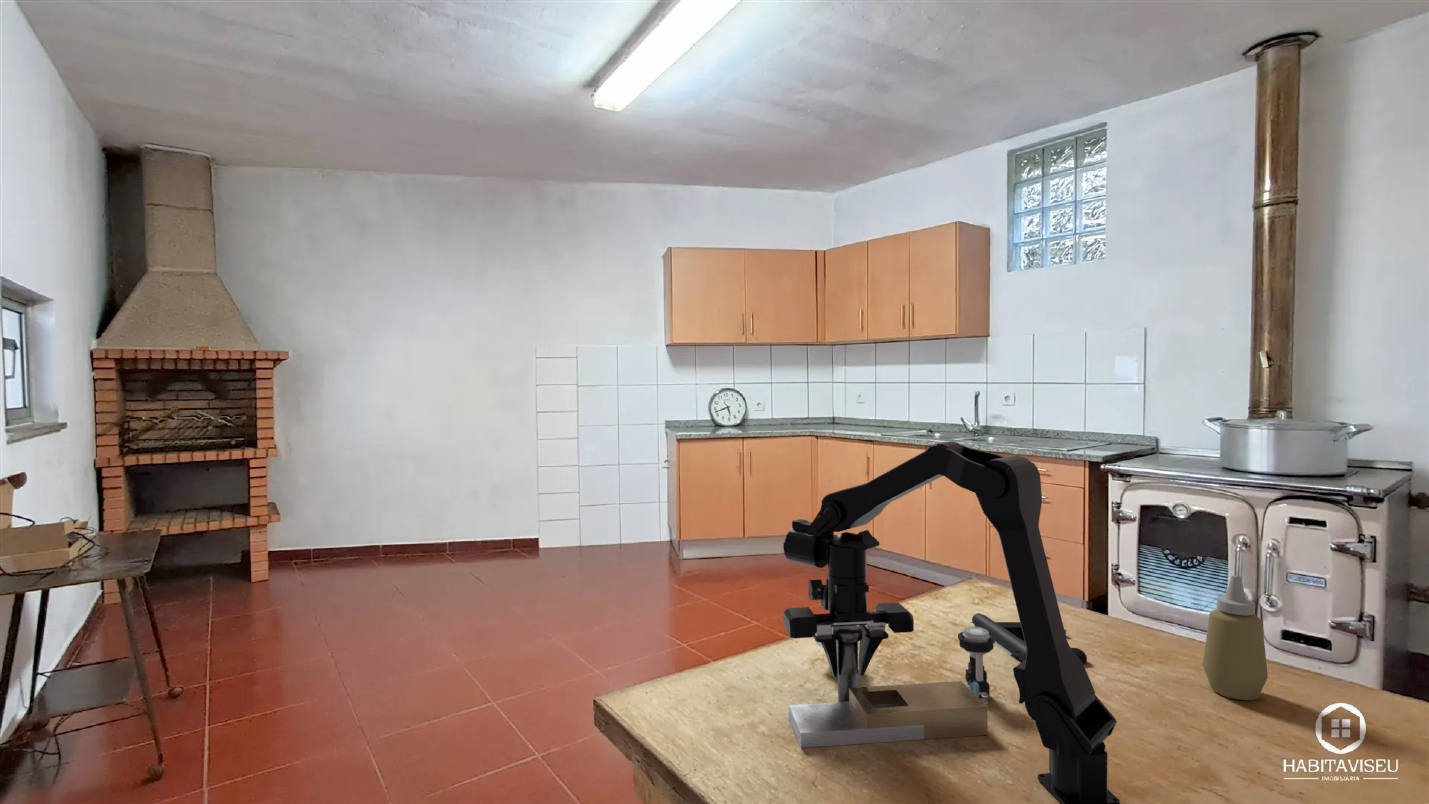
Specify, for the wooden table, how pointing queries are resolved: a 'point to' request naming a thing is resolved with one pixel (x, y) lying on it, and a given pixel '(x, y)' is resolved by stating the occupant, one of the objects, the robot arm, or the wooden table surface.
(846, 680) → the metal knob
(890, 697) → the tan and silver block
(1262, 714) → the wooden table surface
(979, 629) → the push button
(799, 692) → the wooden table surface
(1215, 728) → the wooden table surface
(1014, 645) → the black frame
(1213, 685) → the squeeze bottle
